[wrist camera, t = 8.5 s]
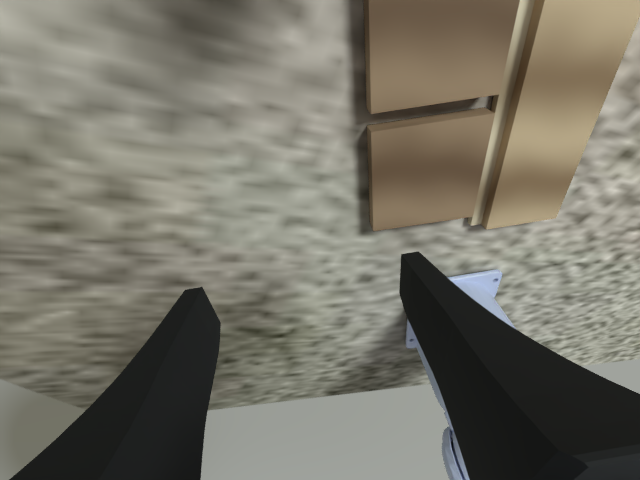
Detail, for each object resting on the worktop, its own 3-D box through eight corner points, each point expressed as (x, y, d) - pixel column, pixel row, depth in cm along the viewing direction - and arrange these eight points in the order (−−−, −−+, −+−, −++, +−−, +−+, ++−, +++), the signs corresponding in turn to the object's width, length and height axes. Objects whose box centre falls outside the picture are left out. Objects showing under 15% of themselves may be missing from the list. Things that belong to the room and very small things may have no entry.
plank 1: (488, 89, 18) (499, 94, 17) (366, 107, 18) (371, 113, 17) (522, -85, 14) (539, -91, 13) (361, -60, 14) (367, -64, 13)
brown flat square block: (465, 207, 23) (472, 216, 22) (369, 221, 23) (373, 231, 22) (484, 107, 18) (495, 113, 18) (366, 125, 19) (371, 132, 18)
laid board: (544, 209, 24) (555, 218, 23) (467, 222, 24) (475, 231, 23) (685, -160, 13) (718, -173, 12) (541, -139, 13) (563, -150, 12)
